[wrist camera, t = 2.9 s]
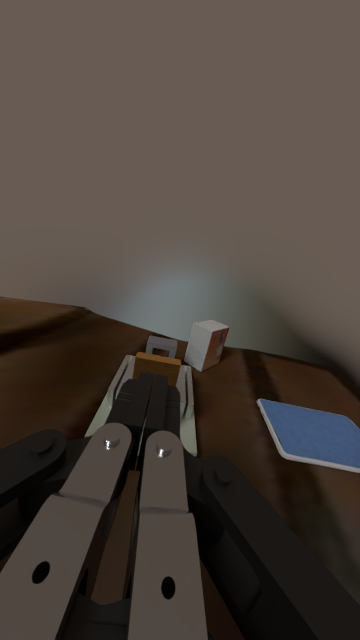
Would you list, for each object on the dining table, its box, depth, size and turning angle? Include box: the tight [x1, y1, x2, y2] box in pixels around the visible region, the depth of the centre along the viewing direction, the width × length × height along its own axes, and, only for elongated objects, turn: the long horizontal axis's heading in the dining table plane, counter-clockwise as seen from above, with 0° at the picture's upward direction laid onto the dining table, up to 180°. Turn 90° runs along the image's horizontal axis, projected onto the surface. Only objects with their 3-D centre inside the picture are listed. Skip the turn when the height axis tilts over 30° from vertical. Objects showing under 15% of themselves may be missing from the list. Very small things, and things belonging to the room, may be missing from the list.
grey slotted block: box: [106, 355, 194, 420], centre depth 34 cm, size 10×12×3 cm
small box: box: [184, 319, 229, 372], centre depth 49 cm, size 8×6×10 cm
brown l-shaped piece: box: [132, 352, 181, 415], centre depth 29 cm, size 13×5×8 cm, turn 179°
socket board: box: [85, 336, 197, 457], centre depth 34 cm, size 20×14×8 cm
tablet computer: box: [257, 399, 360, 473], centre depth 35 cm, size 19×13×1 cm, turn 87°
